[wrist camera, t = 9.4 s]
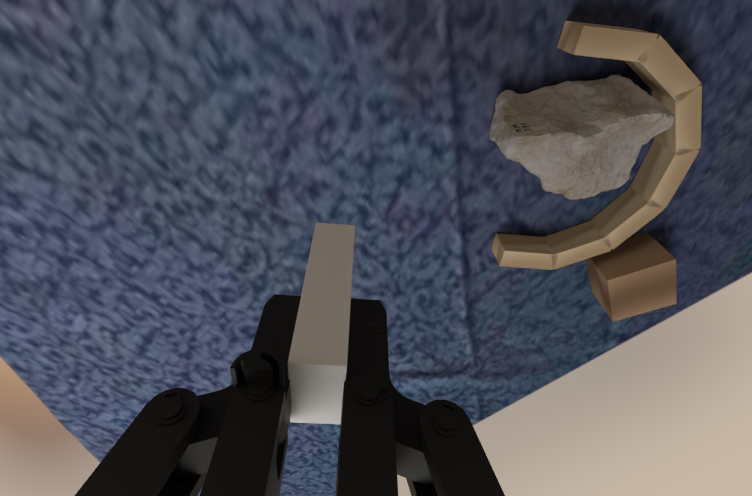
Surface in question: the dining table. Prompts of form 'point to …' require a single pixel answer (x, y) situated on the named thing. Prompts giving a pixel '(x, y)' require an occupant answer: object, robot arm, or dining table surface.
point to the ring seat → (658, 168)
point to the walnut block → (633, 277)
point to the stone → (578, 132)
